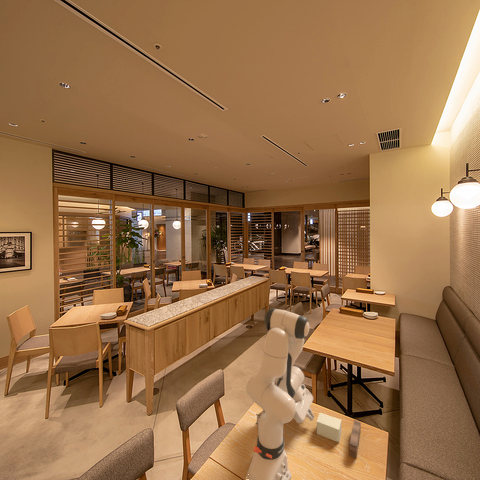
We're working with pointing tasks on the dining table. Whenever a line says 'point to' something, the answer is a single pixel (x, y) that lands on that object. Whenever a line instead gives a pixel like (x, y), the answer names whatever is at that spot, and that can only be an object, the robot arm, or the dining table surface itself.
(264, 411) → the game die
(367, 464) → the dining table surface
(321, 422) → the cream rectangular block
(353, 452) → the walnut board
